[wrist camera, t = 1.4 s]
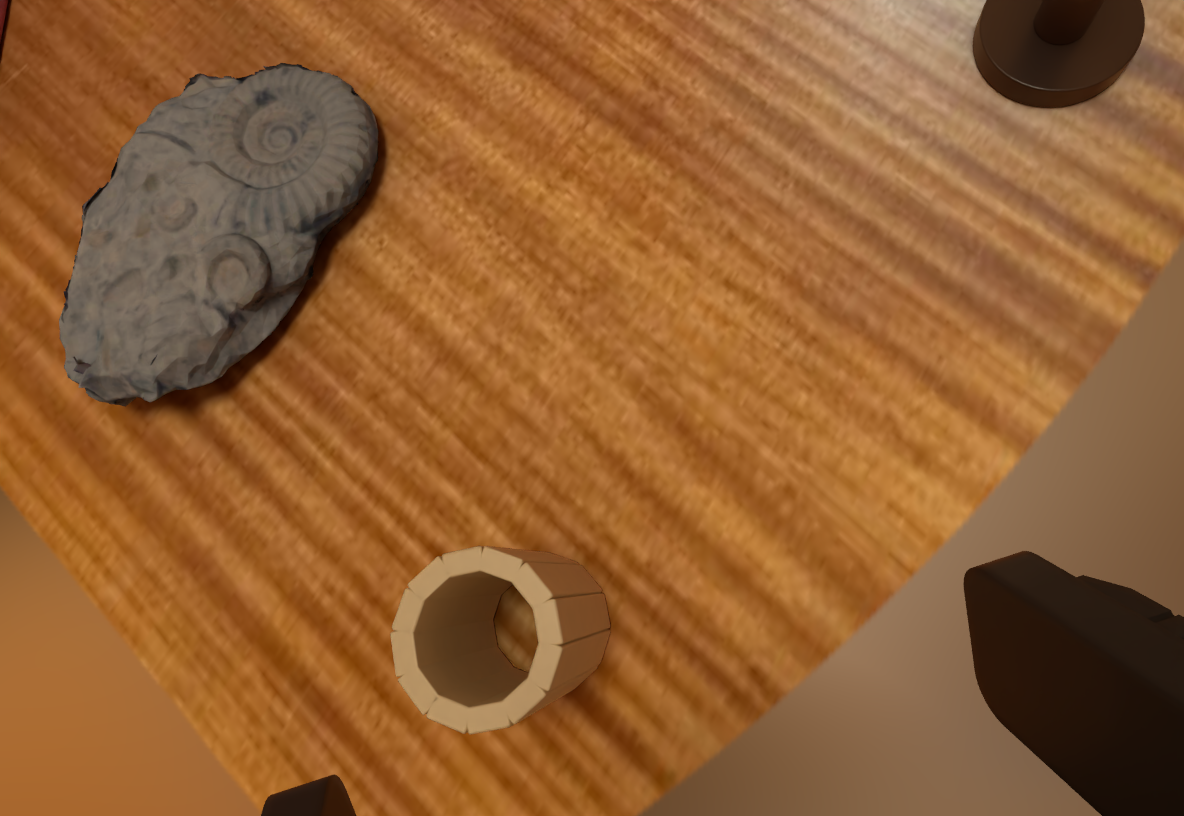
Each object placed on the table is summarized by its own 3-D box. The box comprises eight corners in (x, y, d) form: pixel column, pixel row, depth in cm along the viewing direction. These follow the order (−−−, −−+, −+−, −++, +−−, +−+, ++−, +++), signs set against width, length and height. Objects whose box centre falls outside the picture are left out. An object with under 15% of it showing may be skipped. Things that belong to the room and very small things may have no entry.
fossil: (408, 101, 40) (371, 50, 36) (299, 452, 37) (245, 437, 33) (190, 73, 43) (134, 24, 39) (74, 396, 40) (1, 376, 36)
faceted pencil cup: (627, 579, 33) (584, 581, 25) (583, 716, 32) (526, 761, 25) (502, 536, 34) (426, 525, 27) (458, 666, 34) (367, 693, 26)
